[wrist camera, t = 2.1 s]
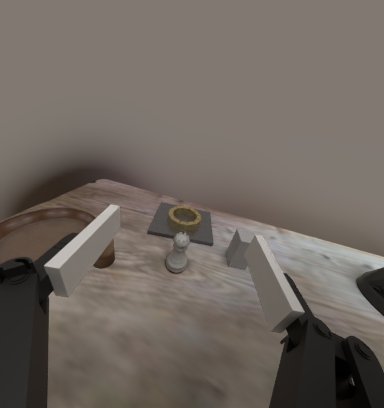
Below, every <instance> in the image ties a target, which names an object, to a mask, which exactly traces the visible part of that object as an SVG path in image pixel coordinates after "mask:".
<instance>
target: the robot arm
mask: <svg viewBox="0 0 384 408" xmlns="http://www.w3.org/2000/svg"><path fill="white" fill-rule="evenodd" d="M119 230H120V206H116V205H110V206H109V207H108V208H107V209H106V210H105V211H104V212H102V213H101V214H100V215H99V216H98V217H97V218H96V219H95V220H94V221H93V222H91V223H90V224H89V225H88V226H87V227H86V228H85V229H84V230H83V231H82V232H80V233H74V232H73V233H71V234H69V235H67V236H65V237H63V238H62V239H61V240H60V241H59V242H58V243H56V244H55V245H54V246H53V247H52V248H50V249H49V250H48V251H47V252H45V253H44V254H43V255H42V256H41V257H39V258H38V259H37V260H36V261H35V262H33V261H32V259H30V258H29V257H18V258H13V259H10V260H8V261H6V262H4V263H2V264H0V408H47V386H48V329H49V297H48V296H49V295H50V293H51V292H52V291H53V290H54V293H55V295H56V296H62V297H68V298H69V296H70V295H71V294H72V292H73V291H74V290H75V288H76V287H77V286H78V284H79V283H80V282H81V280H82V279H83V278H84V277H85V275H86V274H87V273H88V271H89V270H90V269H91V267H92V266H93V265H94V263H95V262H96V261H97V259H98V258H99V257H100V255H101V254H102V253H103V251H104V250H105V249H106V247H107V246H108V245H109V243H110V242H111V241H112V239H113V238H114V237H115V235H116V234H117V233H118V232H119ZM244 255H245V258H246V261H247V264H248V267H249V270H250V273H251V276H252V279H253V282H254V285H255V288H256V290H257V293H258V296H259V299H260V302H261V305H262V308H263V311H264V314H265V317H266V320H267V323H268V326H269V329H270V331H272V332H278V333H282V332H283V331H284V330H285V329H286V330H287V332H288V335H287V336H286V337H285V338H284V339H282V340H281V342H280V343H281V344H283V343H284V342H285V344H284V348H283V352H282V356H281V360H280V365H279V369H278V373H277V377H276V381H275V385H274V389H273V393H272V398H271V402H270V406H269V408H384V372H383V370H382V368H381V365H380V363H379V361H378V359H377V358H376V356H375V354H374V353H373V352H372V350H371V349H370V348H369V347H368V346H367V345H366V344H365V343H364V342H362V341H361V340H360V339H358V338H356V337H354V336H349V337H347V338H345V339H344V338H342V337H340V336H338V335H336V334H334V333H332V332H331V331H330V329H329V328H328V327H327V326H326V325H325V324H324V323H323V322H322V321H321V320H319V319H318V318H315V317H314V315H313V314H312V312H311V310H310V309H309V307H308V305H307V304H306V302H305V300H304V299H303V297H302V295H301V294H300V292H299V290H298V288H296V285H295V283H294V282H293V280H292V279H291V278H290V277H289V276H288V275H287V274H286V273H283V272H282V270H281V269H280V267H279V265H278V263H277V261H276V260H275V258H274V256H273V254H272V252H271V251H270V249H269V247H268V245H267V243H266V242H265V240H264V238H263V236H259V235H255V236H254V237H253V239H252V241H251V243H250V245H249V246H248V248H247V250H246V252H245V254H244ZM357 284H358V286H359V288H360V290H361V292H362V293H363V294H364V296H365V297H366V298H367V299H368V300H369V301H370V302H371V303H372V304H373V305H374V306H375V307H376V308H377V309H378V310H379V311H380V312H381V313H382V314H383V315H384V267H383V268H380V269H376V270H373V271H370V272H366V273H364V274H363V275H362V276H360V277H359V278H358V279H357ZM351 378H353V381H354V384H355V386H354V385H353V383H352V379H351Z"/></svg>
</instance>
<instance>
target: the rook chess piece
mask: <svg viewBox="0 0 384 408" xmlns="http://www.w3.org/2000/svg"><path fill="white" fill-rule="evenodd" d="M173 241H174V244H173V247H174V248H173V251H172V252H171V253H170V254H169V255H168V257H167V260H166V267H167V268H168V269H169V270H170V271H172V272H175V273H178V272H182V271H183V270H185V268H186V265H187V258H186V255H185V251H186V249H187V246H188V245H189V244H190V240H189V236H188V235H187V236H186V233H184V234H182V232H179V234H178V233H177V234H176V236H175V237H174V238H173Z"/></svg>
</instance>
